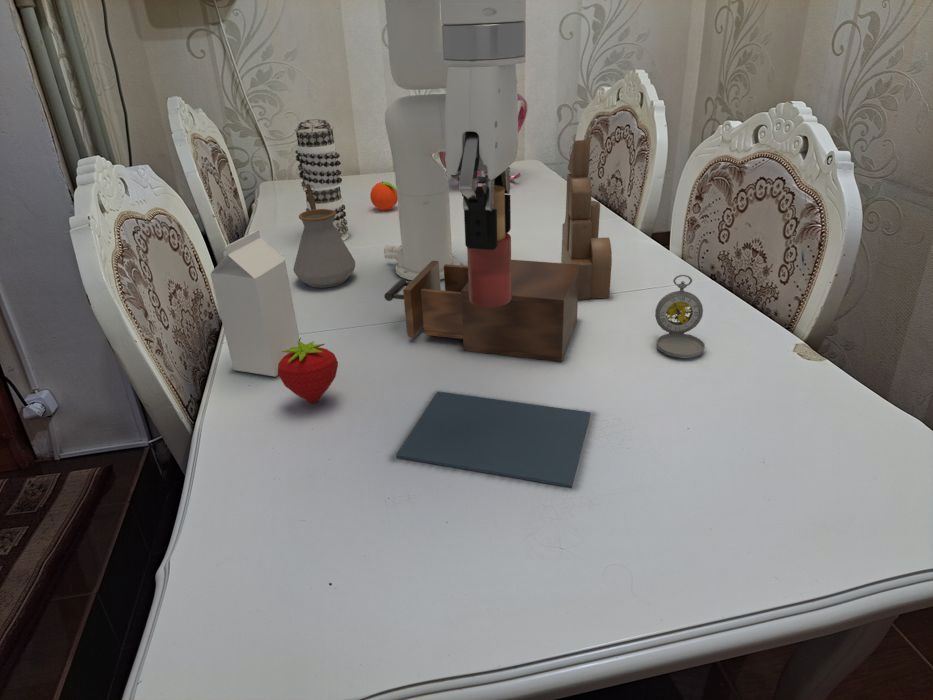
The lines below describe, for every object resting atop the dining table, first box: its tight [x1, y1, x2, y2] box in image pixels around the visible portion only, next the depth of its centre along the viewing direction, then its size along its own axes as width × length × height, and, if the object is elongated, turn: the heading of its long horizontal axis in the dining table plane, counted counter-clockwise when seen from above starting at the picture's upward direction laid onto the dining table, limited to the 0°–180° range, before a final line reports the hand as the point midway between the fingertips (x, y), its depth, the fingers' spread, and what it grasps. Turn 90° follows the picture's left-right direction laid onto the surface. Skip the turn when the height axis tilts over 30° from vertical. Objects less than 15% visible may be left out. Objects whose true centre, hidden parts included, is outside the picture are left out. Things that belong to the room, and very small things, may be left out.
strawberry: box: [277, 337, 339, 404], centre depth 82 cm, size 6×8×10 cm
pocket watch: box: [654, 274, 706, 359], centre depth 92 cm, size 8×8×10 cm
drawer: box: [383, 261, 469, 340], centre depth 100 cm, size 18×12×8 cm
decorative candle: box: [294, 118, 349, 241], centre depth 139 cm, size 9×9×25 cm
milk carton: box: [210, 229, 301, 378], centre depth 90 cm, size 7×7×19 cm
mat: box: [395, 391, 591, 488], centre depth 76 cm, size 20×14×1 cm
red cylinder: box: [466, 184, 512, 307], centre depth 67 cm, size 5×5×12 cm
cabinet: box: [461, 259, 580, 363], centre depth 97 cm, size 15×14×10 cm
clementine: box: [369, 181, 398, 211], centre depth 161 cm, size 8×7×7 cm
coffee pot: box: [292, 184, 356, 289], centre depth 123 cm, size 21×12×15 cm, turn 17°
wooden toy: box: [560, 139, 613, 301], centre depth 110 cm, size 16×7×25 cm, turn 1°
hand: (488, 237), depth 67 cm, fingers closed on red cylinder, 4 cm apart
